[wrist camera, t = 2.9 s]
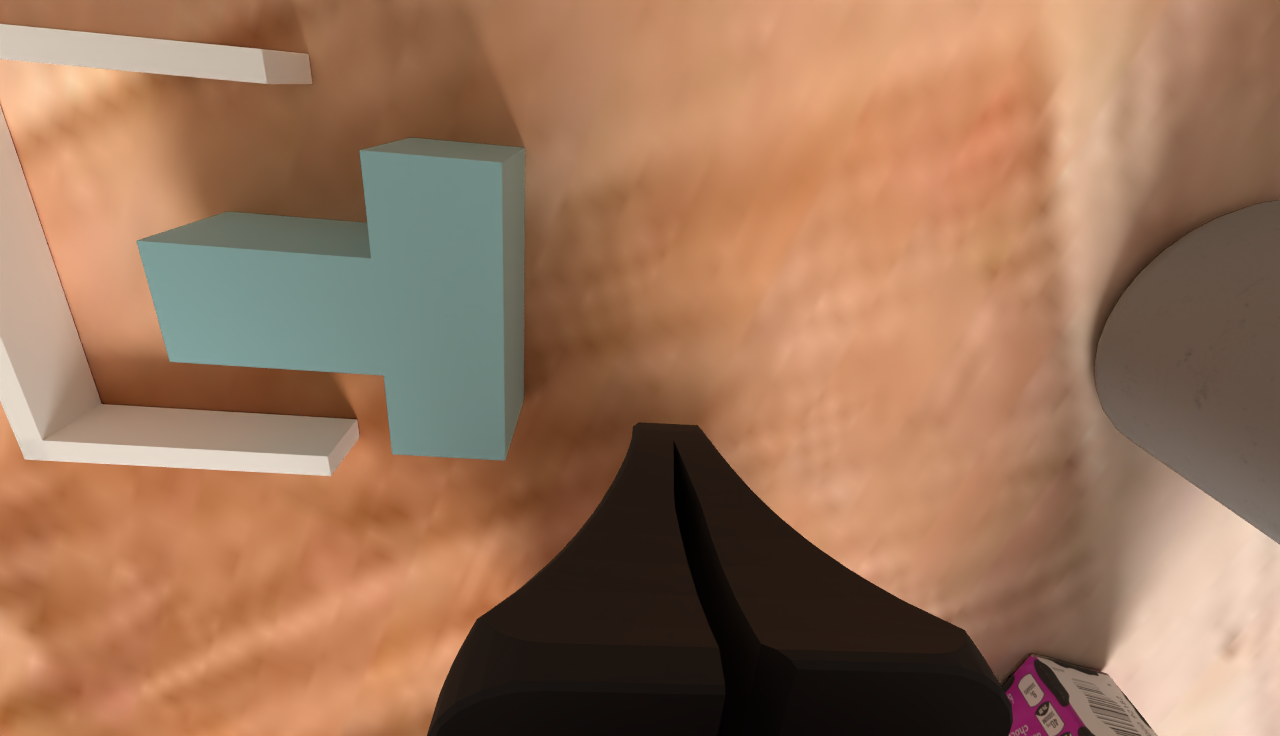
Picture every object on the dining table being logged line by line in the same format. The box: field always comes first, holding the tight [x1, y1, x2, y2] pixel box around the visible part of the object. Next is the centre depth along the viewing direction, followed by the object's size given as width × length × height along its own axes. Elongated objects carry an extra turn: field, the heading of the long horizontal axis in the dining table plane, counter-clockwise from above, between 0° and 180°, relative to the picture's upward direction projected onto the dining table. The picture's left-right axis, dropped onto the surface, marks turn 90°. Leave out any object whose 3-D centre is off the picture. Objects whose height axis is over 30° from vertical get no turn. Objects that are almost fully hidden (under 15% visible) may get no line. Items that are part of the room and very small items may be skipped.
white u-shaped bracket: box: [0, 24, 360, 476], centre depth 19 cm, size 10×13×2 cm
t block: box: [137, 137, 525, 461], centre depth 18 cm, size 10×9×4 cm
